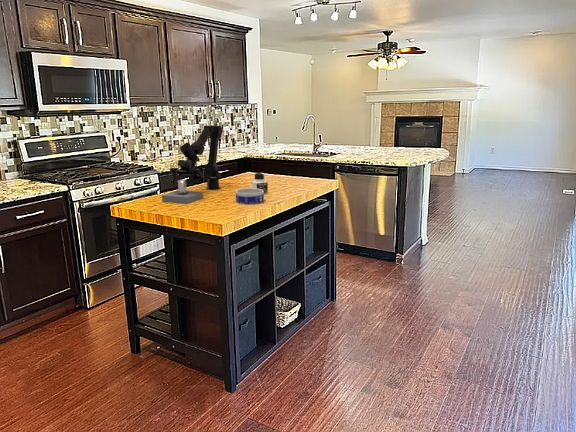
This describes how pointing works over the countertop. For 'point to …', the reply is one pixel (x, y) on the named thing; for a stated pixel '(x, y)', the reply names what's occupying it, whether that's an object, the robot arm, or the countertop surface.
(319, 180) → the countertop surface
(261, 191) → the dog bowl
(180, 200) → the socket block
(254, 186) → the medicine bottle
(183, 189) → the peg
